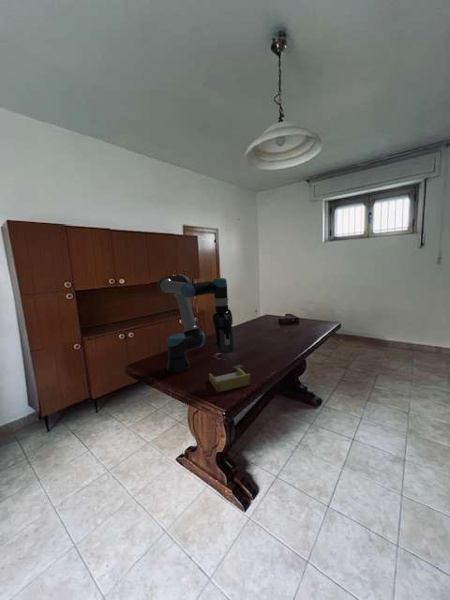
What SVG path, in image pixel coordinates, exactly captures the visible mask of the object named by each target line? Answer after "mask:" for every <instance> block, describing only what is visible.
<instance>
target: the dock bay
mask: <svg viewBox="0 0 450 600" xmlns="http://www.w3.org/2000/svg"><path fill="white" fill-rule="evenodd" d="M208 379H209V382H210V383H211V384H212V386H213V388H214V389H215V391H216V392H217V393H220V392H221V393H222V392H225V391H229V390H233V389H237V388H242V387H245V386H250V385H251V374H250V373H246V372H245V371H242V370H241V369H240V368H237V372H231V373H227V374H222V375H217V376H214V375H213V374H212V373H209V374H208Z"/></svg>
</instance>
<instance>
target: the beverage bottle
mask: <svg viewBox="0 0 450 600" xmlns="http://www.w3.org/2000/svg"><path fill="white" fill-rule="evenodd" d="M219 315H221V313H217V312H216V313H214V314H213V315H212V322H213V325H214V326H213V327H214V329H215V337H216V342H215V345H216V350H217V352H218V353H219V354H221V355H228V354H231V353H234V350H235V342H234V341H235V340H234V328H233V327H234V326H233V314H232V311H231V309H229V308H228V312H226V315H227V316H229V324H230V330H231V333H229V339H230V344H228V345H225V337H224V333H225V331H224V326H225V323H224V318H223V317H220V316H219Z"/></svg>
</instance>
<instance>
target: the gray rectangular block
mask: <svg viewBox="0 0 450 600" xmlns="http://www.w3.org/2000/svg"><path fill="white" fill-rule="evenodd" d="M237 368H240V369H241V370H242V371H244V370H245V366H244V365H242V364H236V365H234V366H232V372H233V373H235V372H237ZM244 372H245V371H244Z"/></svg>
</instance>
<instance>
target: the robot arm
mask: <svg viewBox="0 0 450 600" xmlns="http://www.w3.org/2000/svg"><path fill="white" fill-rule="evenodd" d="M157 289H158V291H160V292H161V293H165V294H169V293H172V295H173V296H174V297H175V299H176V302H177V306H178V309H179V313H180V316H181V317H180V318H181V321H182V324H183V327H184V328H183V331H182V332H178V333H177V332H176V333H173V334H170V335H169V336H168V337H167V344H166V345H167V352H168V353H167V354H168V360H167V365H166V370H167V372H168V373H171V374H181V373H185V372H187V371H188V370H189V369H190V367H191V366H190V362H189V359H188V356H187V352H189V351H193V350H196V349H199V348H201V347H204V345H205V343H206V334H205V332H204V331H203V330H201V329H200V327H199V326H197V322H196V319H195V316H194V312H193V308H192V305H191V302H190V298H192V297H199V296H206V295H214V305H215V307H214V308H215V312H216V313H221V315H219V316H220V317H223V318H224V323H225V326H224V331H225V333H224V337H225V345H228V344H230V339H229V333H231V330H230V324H229V316H227V315H226V313H228V309H229V302H228V301H229V297H228V283H227V278H225V277H218V278H213V281H210V280H206V281H203V282H202V281H201V282H195V283H193V282H192V283H191V281H190V279H189V277H188V276H187V275H184V274H177V275H166V276H163V277H161V278H160V279H159V280H158V281H157Z"/></svg>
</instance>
